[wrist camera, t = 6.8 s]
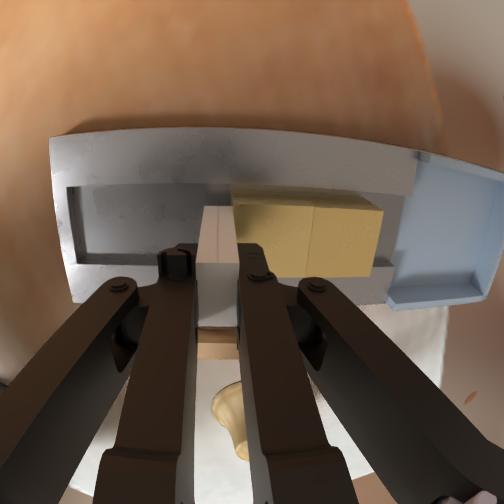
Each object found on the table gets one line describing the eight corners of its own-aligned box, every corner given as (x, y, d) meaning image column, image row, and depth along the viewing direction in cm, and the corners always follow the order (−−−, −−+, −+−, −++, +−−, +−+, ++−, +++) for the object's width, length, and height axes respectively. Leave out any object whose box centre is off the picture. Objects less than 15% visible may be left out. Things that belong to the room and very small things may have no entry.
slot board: (82, 289, 20) (73, 302, 19) (62, 134, 16) (48, 137, 14) (375, 290, 23) (384, 303, 21) (404, 146, 18) (418, 150, 17)
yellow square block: (228, 253, 19) (230, 277, 17) (231, 189, 18) (233, 203, 15) (293, 253, 20) (304, 277, 17) (300, 191, 18) (314, 206, 15)
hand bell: (276, 365, 25) (316, 547, 11) (309, 409, 29) (348, 549, 14) (193, 397, 26) (193, 563, 12) (238, 435, 30) (252, 569, 15)
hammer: (161, 356, 24) (159, 370, 22) (156, 309, 22) (152, 323, 20) (320, 357, 26) (325, 370, 24) (332, 312, 24) (339, 324, 22)
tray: (377, 290, 23) (392, 310, 20) (406, 147, 18) (430, 154, 16) (468, 285, 24) (485, 300, 22) (499, 170, 20) (521, 179, 17)
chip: (293, 254, 20) (305, 277, 17) (300, 192, 18) (314, 207, 15) (351, 254, 20) (369, 276, 17) (361, 196, 19) (383, 211, 16)
